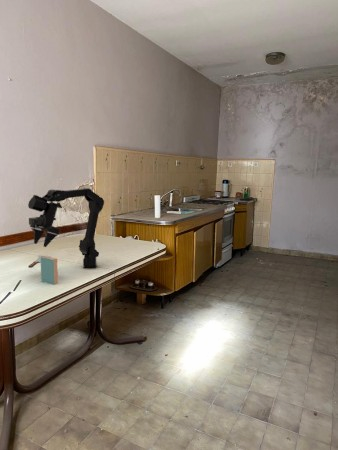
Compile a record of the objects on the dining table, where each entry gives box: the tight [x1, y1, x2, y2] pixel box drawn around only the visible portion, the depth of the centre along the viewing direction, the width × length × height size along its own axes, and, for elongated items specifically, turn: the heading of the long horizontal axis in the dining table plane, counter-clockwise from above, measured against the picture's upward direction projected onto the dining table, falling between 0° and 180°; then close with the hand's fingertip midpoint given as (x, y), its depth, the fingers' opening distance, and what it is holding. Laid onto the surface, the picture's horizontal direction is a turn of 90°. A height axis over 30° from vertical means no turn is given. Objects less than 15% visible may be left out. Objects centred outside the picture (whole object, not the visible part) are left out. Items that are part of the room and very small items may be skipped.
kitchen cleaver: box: [28, 254, 52, 269], centre depth 190 cm, size 24×1×10 cm
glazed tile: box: [40, 255, 59, 285], centre depth 154 cm, size 2×8×12 cm, turn 64°
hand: (39, 245), depth 158 cm, fingers open, 9 cm apart
